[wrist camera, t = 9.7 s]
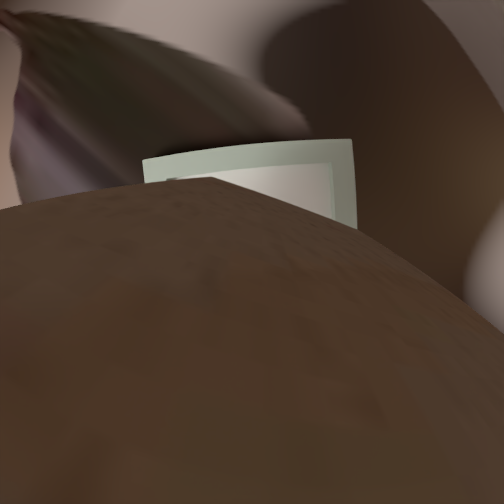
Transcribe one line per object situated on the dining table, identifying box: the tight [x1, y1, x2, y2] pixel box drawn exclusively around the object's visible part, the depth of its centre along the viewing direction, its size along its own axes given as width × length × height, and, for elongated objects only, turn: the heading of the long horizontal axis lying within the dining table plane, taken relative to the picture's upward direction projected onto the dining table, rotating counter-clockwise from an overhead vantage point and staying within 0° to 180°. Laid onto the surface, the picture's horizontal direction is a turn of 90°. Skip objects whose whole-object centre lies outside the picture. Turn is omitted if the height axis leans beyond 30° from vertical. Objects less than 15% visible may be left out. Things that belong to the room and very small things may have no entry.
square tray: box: [142, 139, 357, 229], centre depth 26 cm, size 18×18×2 cm
